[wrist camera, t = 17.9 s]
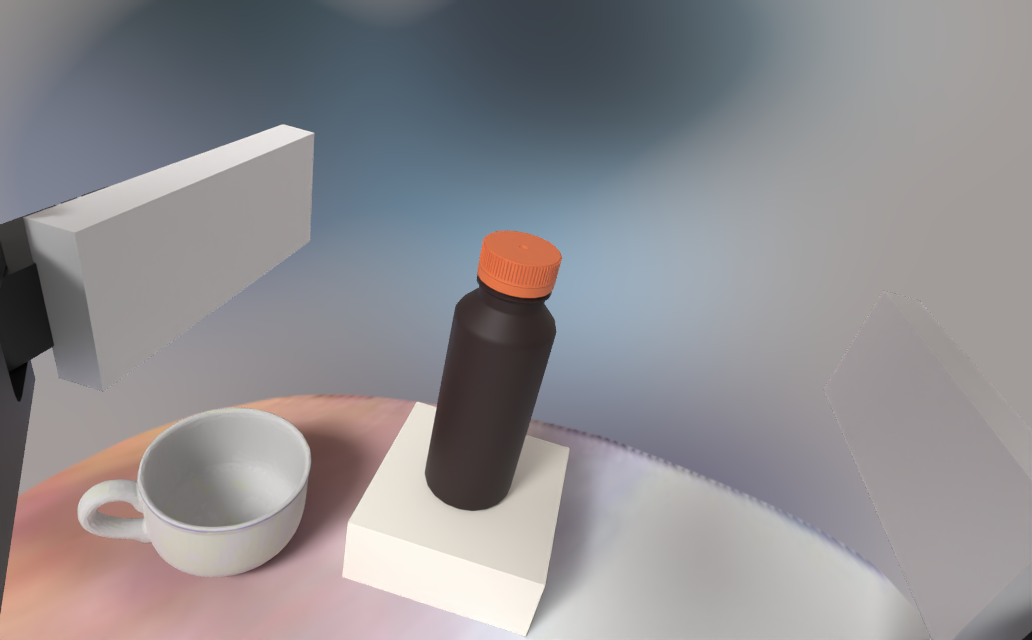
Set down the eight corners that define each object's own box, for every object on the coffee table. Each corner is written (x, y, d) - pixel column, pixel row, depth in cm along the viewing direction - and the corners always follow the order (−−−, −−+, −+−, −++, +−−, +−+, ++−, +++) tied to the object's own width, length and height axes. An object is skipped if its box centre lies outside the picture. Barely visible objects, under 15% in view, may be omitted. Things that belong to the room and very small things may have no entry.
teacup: (305, 474, 51) (308, 402, 47) (311, 588, 43) (315, 512, 39) (112, 492, 46) (97, 412, 42) (76, 625, 37) (52, 542, 33)
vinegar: (405, 484, 45) (446, 243, 35) (453, 435, 50) (500, 214, 40) (484, 529, 43) (551, 287, 33) (524, 473, 48) (592, 251, 38)
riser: (553, 495, 55) (569, 447, 52) (525, 636, 43) (545, 585, 40) (408, 450, 56) (417, 401, 53) (342, 576, 44) (347, 522, 41)
